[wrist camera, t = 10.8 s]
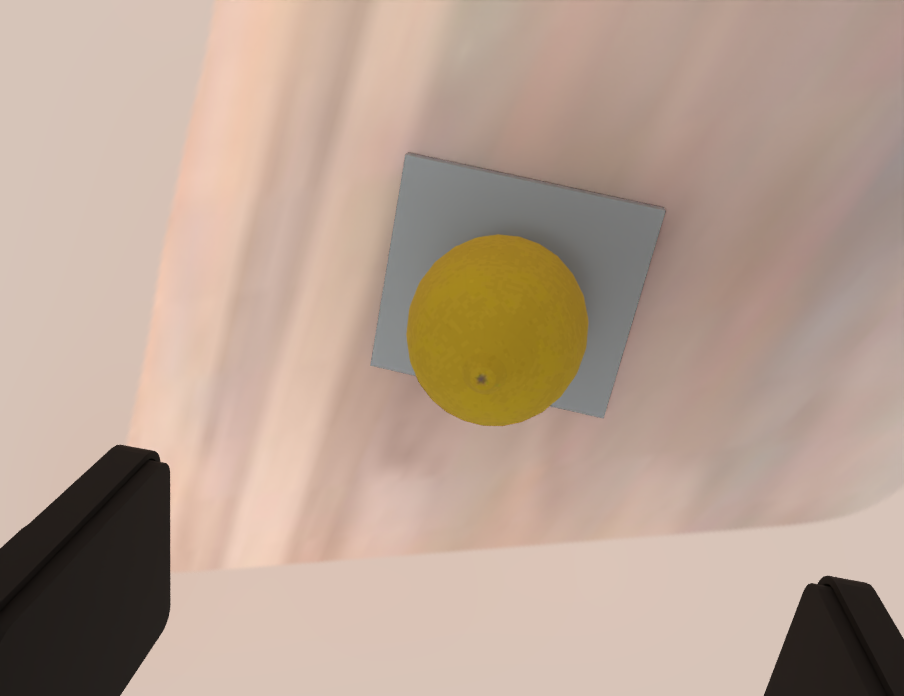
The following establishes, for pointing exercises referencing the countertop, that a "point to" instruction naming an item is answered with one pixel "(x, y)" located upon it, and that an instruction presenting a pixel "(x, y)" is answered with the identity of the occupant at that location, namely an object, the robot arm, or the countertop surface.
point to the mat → (536, 219)
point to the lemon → (497, 330)
